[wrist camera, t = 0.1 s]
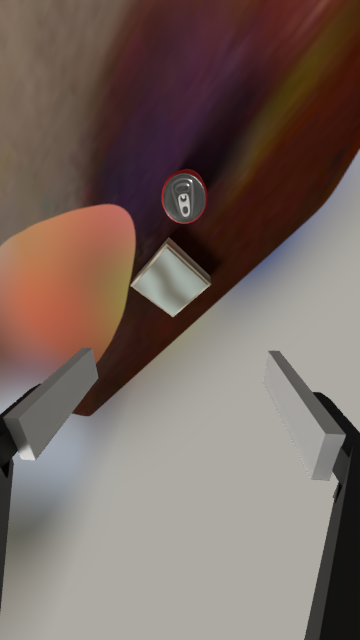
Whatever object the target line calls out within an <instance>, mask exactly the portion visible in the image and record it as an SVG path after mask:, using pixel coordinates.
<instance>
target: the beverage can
mask: <svg viewBox="0 0 360 640" xmlns="http://www.w3.org/2000/svg"><path fill="white" fill-rule="evenodd" d="M162 204H163V207H164V210H165V212H166V213H167V215H168V216H169V217H170V218H171V219H172V220H174V221H175V222H178V223H182V224H186V223H191V222H193V221H195V220H196V219H198V218H199V217H200V216H201V214H202V213H203V212H204V210H205V207H206V204H207V190H206V186H205V184H204V182H203V180H202V178H201V177H200V175H199V174H198V173H197V172H196V171H194V170H192V169H183V170H180V171H177V172H175V173H173V174H172V175H171V176H170V177H169V178H168V179H167V181H166V182H165V184H164V187H163V190H162Z"/></svg>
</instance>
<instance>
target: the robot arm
mask: <svg viewBox="0 0 360 640" xmlns="http://www.w3.org/2000/svg"><path fill="white" fill-rule="evenodd" d="M97 379H98V374H97V369H96V365H95V360H94V355H93V350H92V348H82V349H81V350H80V351H78V352H77V353H76V354H75V355H74V356H73V357H72V358H70V359H69V360H68V361H67V362H66V363H65V364H64V365H62V366H61V367H60V368H59V369H58V370H57V371H56V372H54V373H53V374H52V375H51V376H50V377H49V378H48V379H46V380H45V381H44V382H43V383H42V384H38V385H37V386H35V387H33V388H31V389H30V390H29V391H27V392H26V393H25V394H24V395H23V397H20V398H19V399H18V400H17V401H16V402H14V403H13V404H12V405H11V406H10V407H9V408H7V409H6V410H5V411H4V412H3V413H2V414H0V608H1V598H2V587H3V576H4V565H5V554H6V542H7V531H8V520H9V509H10V497H11V487H12V476H13V465H14V463H13V459H12V457H13V456H14V455H15V454H16V452H17V451H18V453H19V455H20V457H21V459H24V460H36V459H37V458H38V457H39V455H40V454H41V452H42V451H43V450H44V449H45V447H46V446H47V445H48V443H49V442H50V441H51V439H52V438H53V437H54V435H55V434H56V433H57V431H58V430H59V429H60V428H61V426H62V425H63V423H64V422H65V421H66V420H67V418H68V417H69V416H70V414H71V413H72V412H73V410H74V409H75V408H76V406H77V405H78V404H79V402H80V401H81V400H82V399H83V397H84V396H85V395H86V393H87V392H88V391H89V389H90V388H91V387H92V385H93V384H94V383H95V381H96V380H97ZM264 385H265V387H266V389H267V391H268V393H269V395H270V397H271V399H272V401H273V403H274V405H275V407H276V409H277V411H278V413H279V415H280V417H281V420H282V421H283V424H284V426H285V428H286V430H287V432H288V434H289V436H290V438H291V440H292V442H293V444H294V446H295V448H296V450H297V452H298V454H299V456H300V458H301V460H302V462H303V464H304V466H305V468H306V470H307V472H308V474H309V476H310V478H311V479H312V480H326V481H329V480H330V477H331V475H332V472H333V473H334V474H335V476H336V478H337V479H338V481H339V483H338V485H337V488H336V490H335V493H334V495H333V498H334V503H333V508H332V513H331V517H330V522H329V527H328V532H327V536H326V541H325V545H324V550H323V555H322V560H321V564H320V569H319V573H318V578H317V583H316V588H315V593H314V597H313V602H312V606H311V611H310V616H309V621H308V625H307V630H306V635H305V639H304V640H360V433H359V431H358V430H357V429H356V428H355V427H354V426H353V425H352V423H351V422H350V421H349V420H348V419H347V418H346V417H345V416H344V415H343V413H342V412H341V411H340V410H339V409H338V408H337V407H336V405H335V404H334V403H333V402H332V401H331V400H330V399H329V398H328V397H326V396H325V395H323V394H322V393H319V392H312V391H311V390H310V389H309V388H308V386H307V385H306V384H305V383H304V381H303V380H302V379H301V378H300V376H299V375H298V374H297V373H296V371H295V370H294V369H293V368H292V366H291V365H290V364H289V363H288V361H287V360H286V359H285V358H284V356H283V355H282V354H281V353H280V351H268V355H267V362H266V368H265V375H264Z"/></svg>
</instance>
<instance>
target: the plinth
mask: <svg viewBox="0 0 360 640" xmlns="http://www.w3.org/2000/svg"><path fill="white" fill-rule="evenodd" d="M210 285H211V281H210V275H208V274H207V273H206V272H205V271H204V270H203V269H202V268H201V267H200V266H199V265H198V264H197V263H196V262H195V261H194V260H193V259H192V258H190V257H189V256H188V255H187V254H186V253H185V252H184V251H183V250H182V249H181V248H180V247H179V246H178V245H177V244H176V243H175V242H173V241H172V240H171V239H170V238H169V237H168V239H167V240H166V241H165V242H164V243H163V244H162V246H161V247H160V248H159V249H158V250H157V252H156V253H155V254H154V255H153V256H152V258H151V259H150V260H149V261H148V262H147V264H146V265H145V266H144V267H143V268H142V269H141V271H140V272H139V273H138V274H137V275H136V277H135V278H134V280H133V282H132V284H131V286H132V287H133V288H134V289H136V290H137V291H138V292H140V293H141V294H142V295H144V296H145V297H147V298H148V299H149V300H151V301H152V302H153V303H155V304H156V305H157V306H159V307H160V308H161V309H163V310H164V311H165V312H167V313H168V314H169V315H171V316H172V317H174V316H175V315H176V314H177V313H178V312H180V311H181V310H182V309H183V308H184V307H185V306H187V305H188V304H189V303H190V302H191V301H192V300H194V299H195V298H196V297H197V296H198V295H199V294H200V293H202V292H203V291H204V290H205V289H206V288H207V287H209V286H210Z"/></svg>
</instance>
